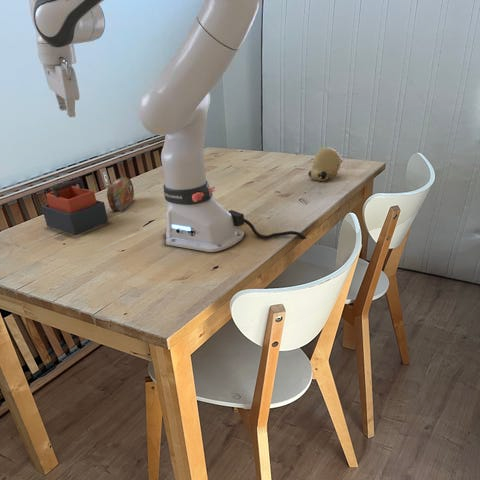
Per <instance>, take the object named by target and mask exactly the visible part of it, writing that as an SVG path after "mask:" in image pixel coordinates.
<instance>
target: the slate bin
mask: <svg viewBox="0 0 480 480" xmlns="http://www.w3.org/2000/svg"><path fill="white" fill-rule="evenodd" d="M96 202H97V204H95V205H93V206H90V207H88V208H85V209H82V210H80V211H77V212H75V213H72V214H69V213H65V212H62V211H59V210H56V209H52V208H49V205H48V203H47V204H45V205H42V206H41V210H42V213H43V217H44V221H45V223H46V226H47V227H49V228H52V229H55V230H58V231H61V232H64V233H67V234H69V235H71V236H72V235H73V236H77V235H80V234H82V233H85V232H87V231H89V230H92V229H94V228H96V227H99V226H101V225H104V224H107V223H108V222H109V217H108V213H107V209H106V205H105V202H104V201H101V200H98V199H96Z"/></svg>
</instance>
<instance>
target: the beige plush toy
mask: <svg viewBox="0 0 480 480" xmlns="http://www.w3.org/2000/svg"><path fill="white" fill-rule="evenodd" d="M342 162H343V158H341V156H340V154H339V151H337V150H336V149H334V148H333V147H328V146H323V147H320V148H319V149H318V151H317V153H316V155H315V157H314V161H313V164H312V166H311V170H309V171H308V173H307V175H308V178H310V179H312V180H313V181H316V182H326V181H327V180H329V179H331V178H333V177H338V175H339V173H338V172H339V170H340V168H341V164H342Z"/></svg>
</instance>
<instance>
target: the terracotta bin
mask: <svg viewBox="0 0 480 480" xmlns="http://www.w3.org/2000/svg"><path fill="white" fill-rule="evenodd" d="M76 185H78V186H76ZM52 190H53V191H50V192H48V193H45V197H46V201H47V204H48V205H49V208H52V209H56V210H59V211H62V212H65V213H69V214H72V213H75V212H77V211H80V210H82V209H85V208H88V207H90V206H93V205H95V204H97V202H96V200H97V198H96V193H95V190H92V189H87V188H85V187H84V184H83V180H82V178H81V177H77V178H75V179H73V180H69V181H67V182H64V183H60V184H58V185H53V186H52Z"/></svg>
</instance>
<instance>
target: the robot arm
mask: <svg viewBox="0 0 480 480" xmlns="http://www.w3.org/2000/svg"><path fill="white" fill-rule="evenodd" d="M104 1H105V0H28V3H29V4H28V5H29V11H30V16H31V20H32V21H31V22H32V24H33V26H34V29H35V32H36V33H35V34H36V36H35V37H36V38H35V39H36V40H35V42H36V48H37V54H38V59H39V62H40V64H41V65H42V68H43V71H44V75H45V78H46V82H47V85H48V87H49V90H50V91H52V92H53V93H54V95H55V99H56V101H57V103H58V109H59V110H60V111H66V114H67V116H68V117H69V118H76V101H79V100H80V90H79V84H78V79H77V75H76V71H75V69H74V67H73V65H74V64H76V63H77V58H76V57H77V56H76V52H75V45H76V44H77V45H78V44H84V43H91V42H94V41H96V40H99V39H100V38H101V37H102V36H103V34H104V31H105V29H106V28H105V27H106V19H105V14H104V11H103V9H102V7H101V5H100V4H101V3H103V2H104ZM259 6H260V1H259V0H205V1H204V3H203V5H202V6H201V8H200V10H199V12H198V13H197V16H196V17H195V19H194V21H193V23H192V25H191V26H190V29H189V30H188V31H187V34H186V36H185V38H184V39H183V41H182V43H181V45H180V46H179V48H178V49H177V50H176V52H175V54H174V55H173V56H172V58H171V59H170V60H169V61H168V63H167V64H166V65H165V66H164V68H163V69H162V71H161V72H160V74H159V75H158V76H157V78H156V79H155V81H154V82H153V83H152V84H151V86H150V87H149V89H148V90H146V92H144V94H143V95H142V96H141V97H140V99H139V101H138V105H137V115H138V118H139V121H140V123H141V125H142V126H143V128H144V129H145V130H146V131H148V132H149V133H151V134H153V135H156V136H164V142H163V146H162V150H161V153H160V161H161V168H162V176H163V183H164V184H163V195H164V199H165V201H166V213H165V214H166V215H165V216H166V230H165V231H166V232H165V244H166V245H167V246H170V247H178V248H182V249H190V250H195V251H201V252H206V253H216V252H217V253H218V252H220V251H224V250H227V249H229V248H231V247H233V246H234V245H236V244H237V243H239V242H240V241H242V240H243V238H244V236H245V234H244V233H245V232H244V231H243V230H241V229H239V227H241V226H243V225H245V224H246V225H248V227H249V228H250V229H251V231H252V233H253V234H254V235H255V236H257V237H258V238H259V239H264V240H268V239H272V238H275V237H284V236H288V235H289V236H290V235H293V236H296V237H299V238H300V239H302V240H307V237H306V236H305V235H304V234H303V233H301V232H300V231H295V230H289V231H287V230H286V231H281V232H273V233H270V234H261V233H259V232H258V230H257V229H256V228H255V226H254V224H252V223H251V222H250V221H249V220H247V219H246V218H245V215H244V213H242V212H239V211H237V210H233V209H230V210H227V208H225V207H224V206H223V205H222V204H221V203H220V202H219V201H218V200H217V199H216V198H215V197H214V195H213V192H215V191H216V190H215V188H216V187H215V186H212V187H211V186H210V184H209V182H208V180H207V176H206V175H207V174H206V164H205V163H206V162H205V139H206V127H207V118H208V111H209V109H210V106H211V100H212V99H211V93H210V91H211V90H212V89H213V88H214V87H215V86H216V85H217V84H218V82H219V81H220V80H221V79H222V77H223V76H224V74H225V72H226V70H227V69H228V68H229V67H230V65H231V63H232V61H233V60H234V58H235V57H236V55H237V54H238V52H239V50H240V49H241V47H242V45H243V43H244V42H245V40H246V38H247V36H248V34H249V32H250V30H251V28H252V26H253V24H254V21H255V19H256V16H257V14H258V11H259Z"/></svg>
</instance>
